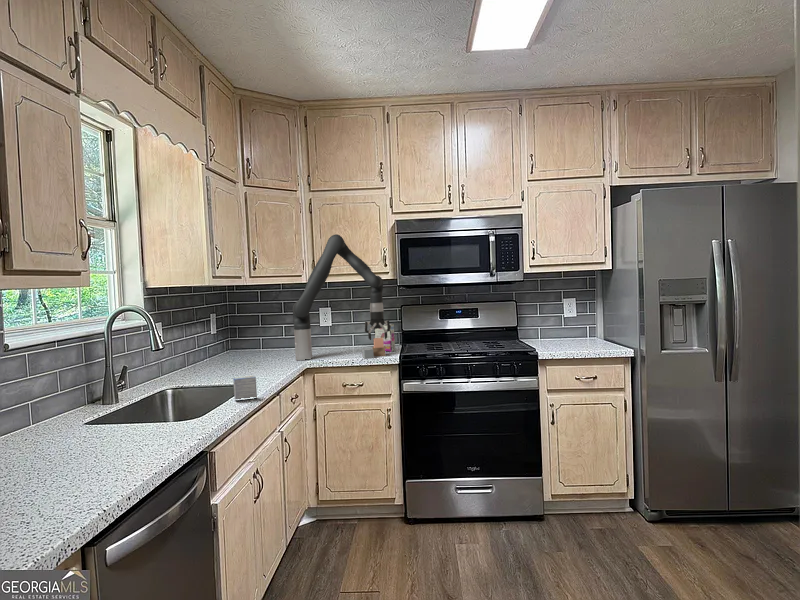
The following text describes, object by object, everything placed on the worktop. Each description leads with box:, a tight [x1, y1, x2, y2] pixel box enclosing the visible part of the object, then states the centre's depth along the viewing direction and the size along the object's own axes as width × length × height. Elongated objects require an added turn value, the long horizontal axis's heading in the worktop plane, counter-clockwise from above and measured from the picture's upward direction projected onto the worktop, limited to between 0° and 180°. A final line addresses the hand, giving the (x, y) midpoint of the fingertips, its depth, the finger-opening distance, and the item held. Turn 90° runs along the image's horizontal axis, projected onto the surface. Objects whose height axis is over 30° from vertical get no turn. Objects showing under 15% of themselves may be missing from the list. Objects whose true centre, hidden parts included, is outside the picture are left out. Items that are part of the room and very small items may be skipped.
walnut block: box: [371, 346, 386, 357], centre depth 311 cm, size 7×7×5 cm
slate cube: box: [361, 348, 375, 360], centre depth 303 cm, size 5×5×5 cm
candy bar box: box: [374, 323, 396, 353], centre depth 328 cm, size 11×5×16 cm, turn 62°
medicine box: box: [232, 374, 258, 400], centre depth 208 cm, size 8×4×9 cm, turn 113°
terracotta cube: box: [372, 337, 384, 348], centre depth 311 cm, size 5×5×5 cm
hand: (377, 339), depth 311 cm, fingers open, 8 cm apart
